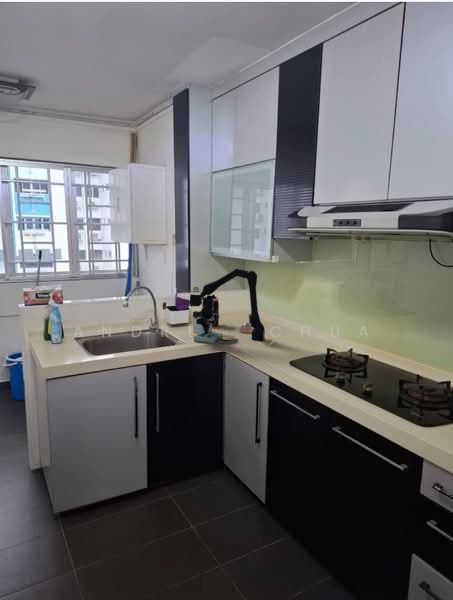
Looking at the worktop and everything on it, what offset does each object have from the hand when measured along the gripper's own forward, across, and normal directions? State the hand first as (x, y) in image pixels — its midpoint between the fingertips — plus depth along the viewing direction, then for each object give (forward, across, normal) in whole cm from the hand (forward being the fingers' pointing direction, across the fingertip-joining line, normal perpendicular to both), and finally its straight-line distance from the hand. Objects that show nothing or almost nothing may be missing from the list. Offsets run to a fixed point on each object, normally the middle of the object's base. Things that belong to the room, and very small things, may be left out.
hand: (208, 333), depth 226 cm
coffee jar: (+4, -33, -14) cm, 36 cm away
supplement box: (+4, -15, -12) cm, 19 cm away
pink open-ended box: (+4, -25, +14) cm, 29 cm away
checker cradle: (+4, -2, +11) cm, 12 cm away
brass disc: (+2, -2, +11) cm, 11 cm away
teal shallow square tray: (+4, 0, 0) cm, 4 cm away
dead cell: (+3, -25, +14) cm, 29 cm away
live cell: (+2, 0, 0) cm, 2 cm away
